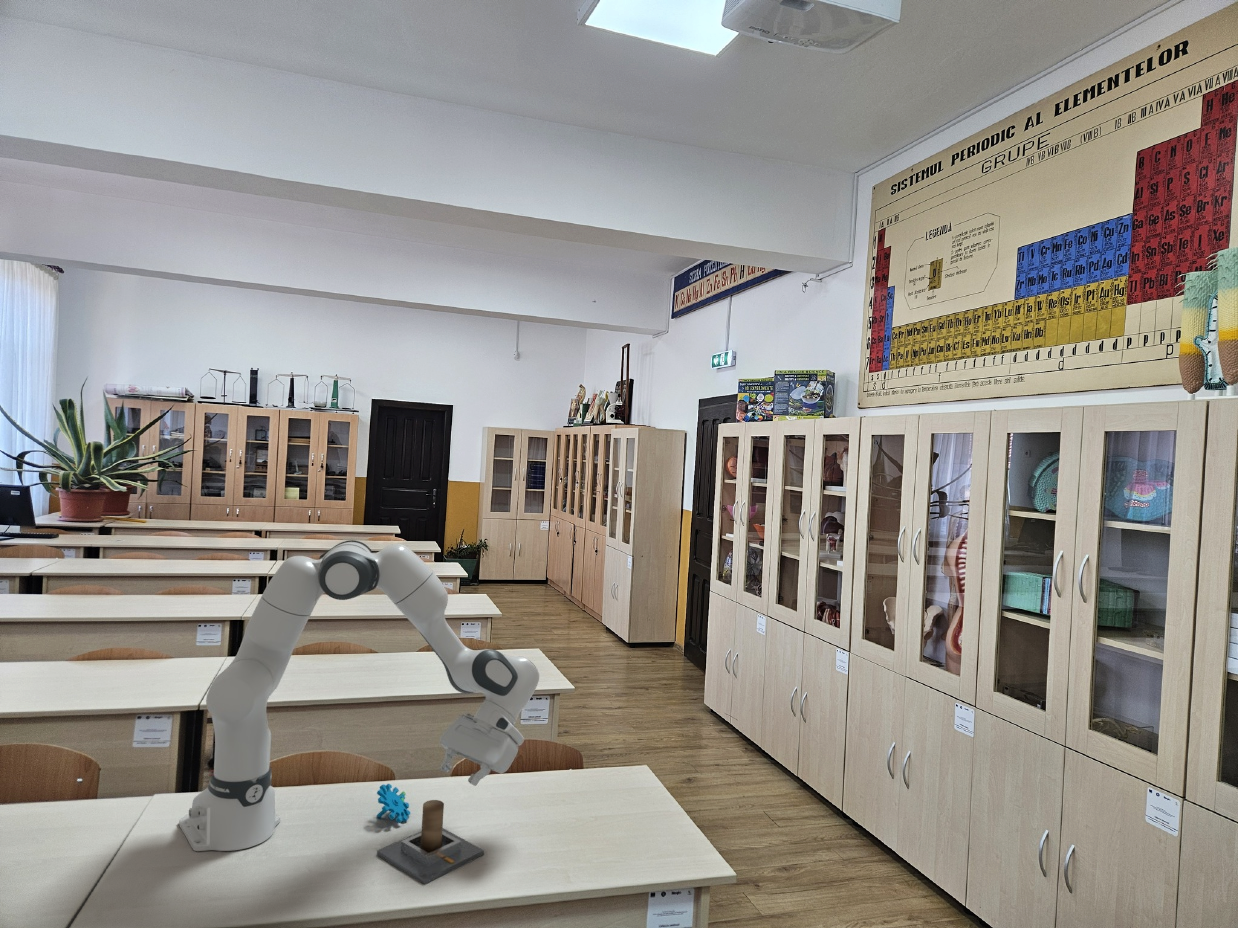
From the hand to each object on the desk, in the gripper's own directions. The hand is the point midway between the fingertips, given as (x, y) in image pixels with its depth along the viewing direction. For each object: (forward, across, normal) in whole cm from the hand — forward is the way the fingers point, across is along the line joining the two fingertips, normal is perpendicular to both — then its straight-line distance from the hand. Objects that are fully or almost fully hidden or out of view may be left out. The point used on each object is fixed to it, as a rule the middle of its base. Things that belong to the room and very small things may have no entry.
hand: (457, 776), depth 173 cm
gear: (+12, -19, +10) cm, 25 cm away
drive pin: (+14, 0, +6) cm, 15 cm away
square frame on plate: (+15, 0, +6) cm, 16 cm away
